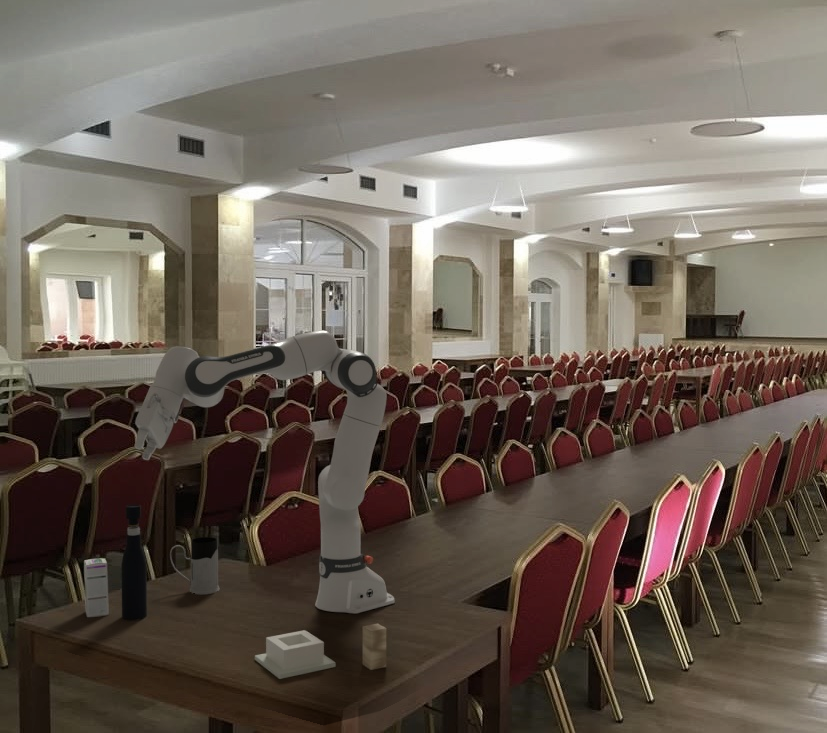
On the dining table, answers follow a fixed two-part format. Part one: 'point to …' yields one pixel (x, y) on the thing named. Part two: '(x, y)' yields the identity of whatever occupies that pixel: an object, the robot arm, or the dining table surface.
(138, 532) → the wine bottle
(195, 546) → the grey mug
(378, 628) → the tan tall wooden block
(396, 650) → the dining table surface
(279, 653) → the white socket base
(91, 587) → the syrup box
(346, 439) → the robot arm
